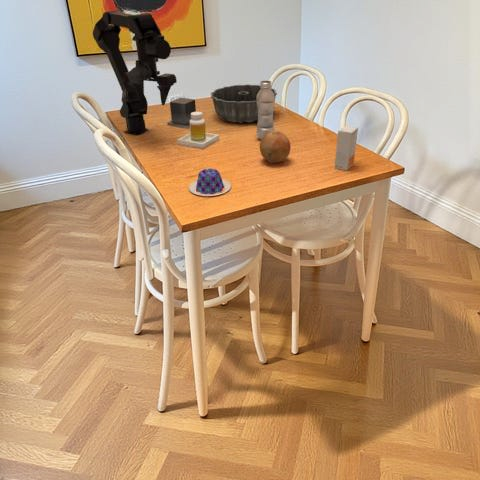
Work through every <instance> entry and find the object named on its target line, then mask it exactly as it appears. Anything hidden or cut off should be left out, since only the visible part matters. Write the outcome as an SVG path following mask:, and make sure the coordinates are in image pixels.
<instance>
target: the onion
mask: <svg viewBox="0 0 480 480" xmlns="http://www.w3.org/2000/svg"><path fill="white" fill-rule="evenodd" d="M259 152H260V155H261V156H262V158H263V159H265V160H266V161H268V162H270V163H273V164H276V163H281V162H283V161H284V160H286V159H288V157H289V156H290V153H291V141H290V139H289V137H288V135H286V134H285V133H284V132H281V131H279V130H274V131H270V132H267V133H266V134H265V135H264V136H263V138H262V140H260V143H259Z"/></svg>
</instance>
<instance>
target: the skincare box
mask: <svg viewBox="0 0 480 480" xmlns="http://www.w3.org/2000/svg"><path fill="white" fill-rule="evenodd" d="M358 131H359V127H358V126H354V125H353V126H352V125H343V127H341V128H340V129H339V130H338V132H337V140H336V150H335V157H334V169H337V170H343V171H348V170H349V169H350V168H351V167H353V165H354V163H355V155H356V149H357V141H358V133H359V132H358Z"/></svg>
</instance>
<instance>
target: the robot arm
mask: <svg viewBox="0 0 480 480" xmlns="http://www.w3.org/2000/svg"><path fill="white" fill-rule="evenodd" d="M122 28H126V29H128V31H129V33H132V34H133V37H132V39H131V41H135V46H136V47H135V48H136V55H137V59H136V60H135V66H134V67H133V68H132V69H131V70H129V69H128V67H127V65H126V64H127V63H126V62H125V59H124V57H123V54H122V52H121V49H120V42H121V38H120V33H121V31H122ZM92 30H93V31H92V38H93V39H94V41H95V42H96V44H97V46H98V48H99V49H101V50H102V51H103V52H104V53H106V56H107V59H108V60H109V62H110V66H111V67H112V70H113V72H114V74H115V77H116V79H117V83H118V84H119V86H120V89H121V92H122V93H121V94H122V95H121V104H122V105H121V107H120V109H119V115H120V117H121V118H123V119H125V123H126V124H125V125H126V129H127V130H124V133H125V134H131V135H135V136H137V135H138V136H139V135H140V134H142V133H145V132H147V131H148V130H149V129H148V128H146V121H145V117H144V115H147V113H148V106H149V105H148V99H147V97H146V96H145V82H144V81H146V82H155V83H157V84H158V85H157V86H156V87H157V89H158V91H159V95H160V103H161V106H165V105H166V102H167V99H168V96H169V93H170V90H171V88H172V86H175V84H178V83H177V81H178V80H177V77H176V75H175V74H174V73H164V74H161V71H160V70H158V68H157V67H158V66H157V63H158V62H159V60H166V59H168V58H169V57H170V56H171V53H172V52H171V51H172V47H171V46H170V43H169V42H168V41H167V40H166V39H165V35H162V33H161V29H160V27H159V26H158V24H157V22H156V21H155V18H154V17H153V15H152V14H151V13H150V12H147V13H139V14H137V13H136V14H131V13H125V12H121V11H117V10H108V11H105V12H103V13H102V16H101V18H100V19H99V20H98V21H96V23H95V25H94V26H93V29H92Z"/></svg>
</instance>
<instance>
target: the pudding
mask: <svg viewBox="0 0 480 480" xmlns="http://www.w3.org/2000/svg"><path fill="white" fill-rule="evenodd" d="M224 185H225V187H224ZM231 187H232V184H231V183H230V181H228V180H226V179H224V178H222V176H221V173H220V171H218V169H216V168H204V169H201V170H200V171H199V173H198V176H197V180H194V181H193V182H191V183H190V185H189V186H188V190H189V191H190V192H191V193H192V194H195V195H198V196H204V197H212V196H218V195H223V194H225V193H227V192H229V190H230V189H231ZM224 188H225V191H224V192H222V191H223V190H224ZM196 191H197V192H196ZM220 192H222V193H220ZM200 193H201V194H200ZM215 193H216V194H215ZM217 193H218V194H217ZM211 194H212V195H211ZM213 194H214V195H213Z"/></svg>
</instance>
